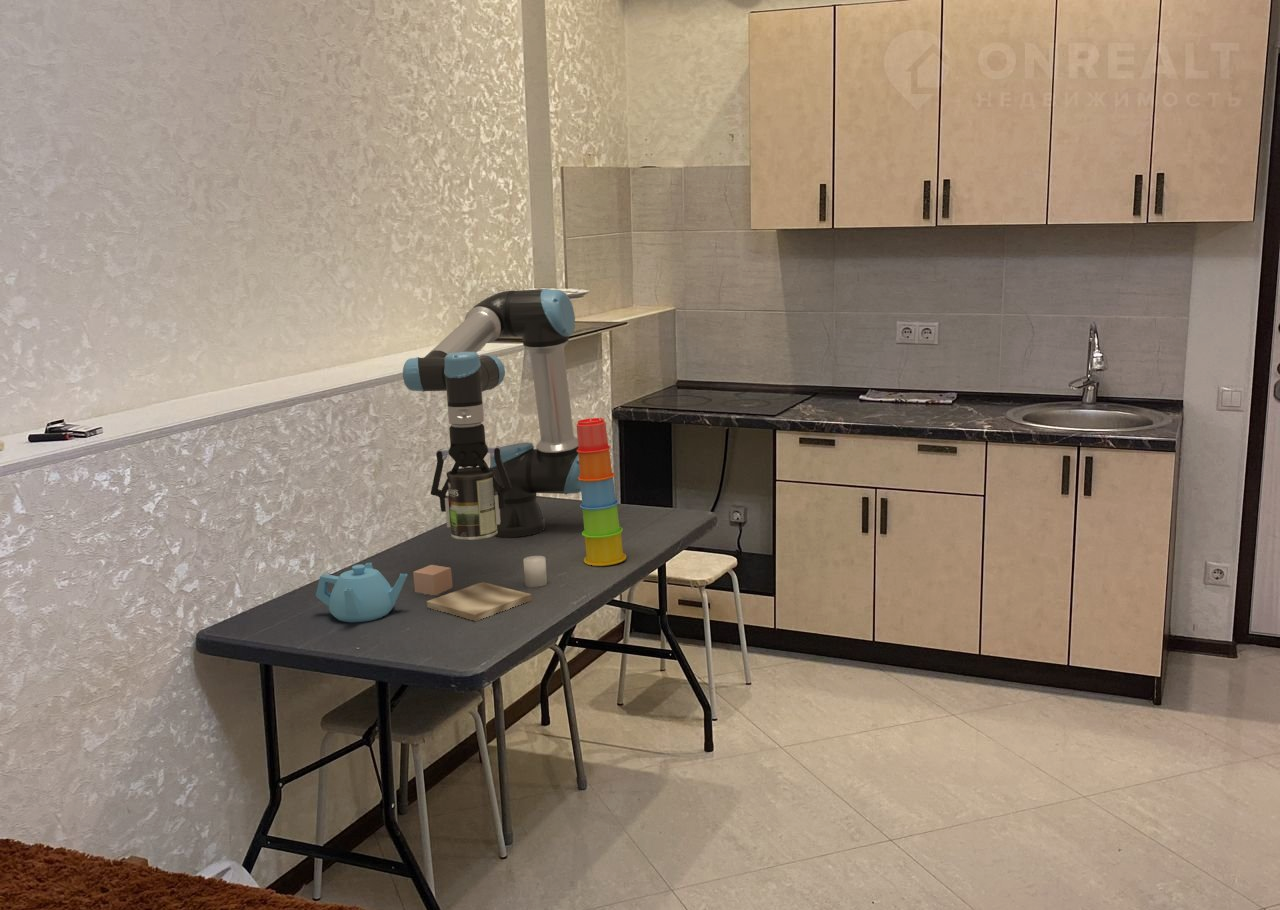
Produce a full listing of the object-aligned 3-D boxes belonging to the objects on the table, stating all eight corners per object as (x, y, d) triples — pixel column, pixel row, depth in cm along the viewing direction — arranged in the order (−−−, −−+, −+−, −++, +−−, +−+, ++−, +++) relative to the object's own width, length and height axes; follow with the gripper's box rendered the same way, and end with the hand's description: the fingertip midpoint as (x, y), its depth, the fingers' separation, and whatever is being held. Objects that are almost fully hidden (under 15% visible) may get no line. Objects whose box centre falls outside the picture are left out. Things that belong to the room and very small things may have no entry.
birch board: (483, 588, 266) (482, 582, 266) (531, 600, 255) (531, 594, 255) (427, 607, 254) (426, 601, 254) (475, 621, 244) (474, 614, 243)
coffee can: (457, 542, 250) (452, 478, 248) (446, 532, 260) (441, 470, 257) (504, 536, 254) (499, 472, 252) (491, 526, 264) (486, 464, 261)
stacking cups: (597, 569, 276) (589, 425, 269) (576, 560, 284) (567, 419, 277) (634, 561, 281) (627, 419, 274) (612, 552, 289) (604, 414, 283)
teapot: (376, 597, 264) (371, 551, 262) (413, 610, 253) (408, 563, 251) (314, 615, 253) (309, 567, 251) (350, 630, 243) (345, 580, 241)
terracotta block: (433, 585, 270) (431, 564, 269) (452, 588, 267) (450, 567, 266) (415, 592, 266) (413, 571, 265) (434, 596, 262) (432, 575, 261)
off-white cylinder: (536, 579, 271) (534, 554, 269) (551, 583, 267) (549, 557, 266) (520, 585, 267) (518, 559, 266) (535, 588, 264) (533, 563, 263)
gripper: (411, 429, 248) (419, 531, 252) (518, 424, 249) (524, 525, 253) (416, 424, 256) (424, 523, 260) (519, 418, 257) (526, 517, 261)
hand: (473, 524), depth 257 cm, fingers closed on coffee can, 10 cm apart
